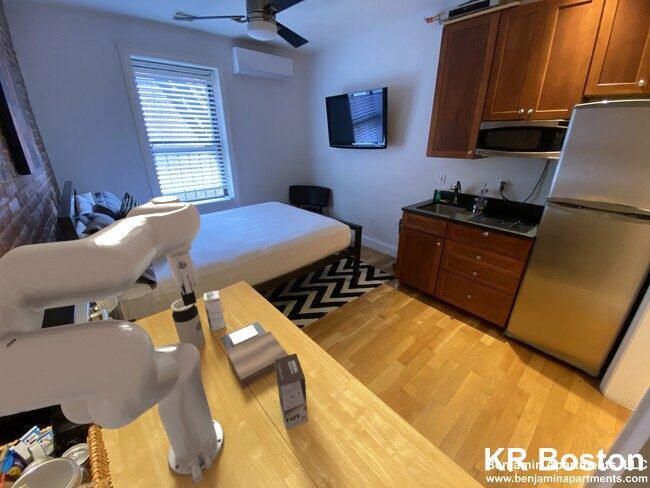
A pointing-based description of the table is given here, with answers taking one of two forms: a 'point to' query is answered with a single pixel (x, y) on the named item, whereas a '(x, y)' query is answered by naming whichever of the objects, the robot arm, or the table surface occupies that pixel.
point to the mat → (226, 338)
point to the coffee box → (291, 390)
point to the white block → (243, 335)
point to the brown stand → (255, 358)
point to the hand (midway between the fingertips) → (190, 303)
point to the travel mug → (188, 323)
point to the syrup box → (214, 310)
